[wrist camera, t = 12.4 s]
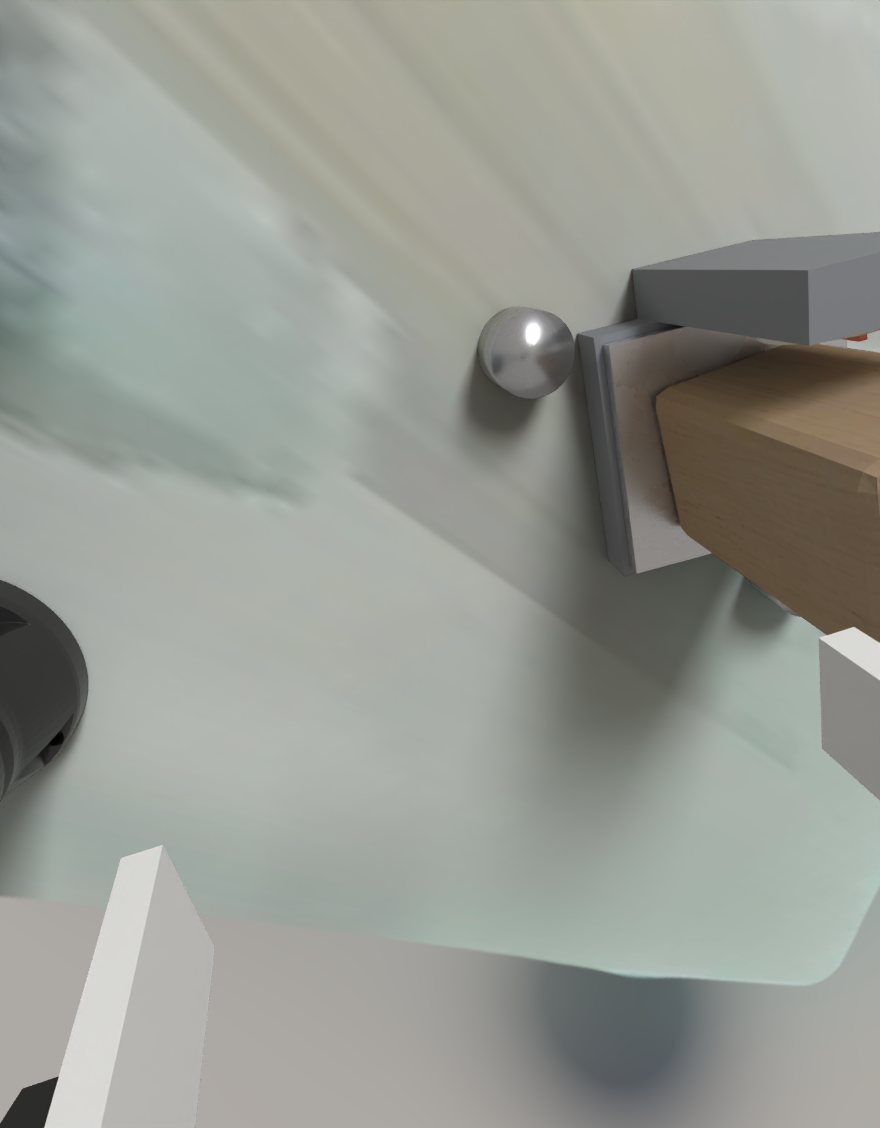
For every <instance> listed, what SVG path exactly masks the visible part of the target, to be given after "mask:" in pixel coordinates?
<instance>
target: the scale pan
mask: <svg viewBox="0 0 880 1128" xmlns="http://www.w3.org/2000/svg"><path fill="white" fill-rule="evenodd" d="M819 344H824V345H831V346H838V347H844V348H847V340H844V339H839V340H833V341H827V342H823V343H819ZM778 346H781V345H775V344H765V343H761V342H759V341H757V338H756V337H750V336H743V335H737V334H731V333H724V332H718V331H711V330H705V329H699V328H692V327H686V326H675V327H671V328H667V329H663V330H659V331H655V332H651V333H647V334H643V335H639V336H635V337H630V338H626V339H622V340H618V341H614V342H610V343H606V344H603V348H604V356H605V364H606V372H607V380H608V388H609V396H610V404H611V412H612V420H613V428H614V436H615V444H616V452H617V460H618V468H619V476H620V485H621V493H622V501H623V509H624V517H625V525H626V533H627V541H628V549H629V557H630V565H631V569H632V570H633V571H634V572H636V573H641V572H645V571H649V570H652V569H656V568H660V567H663V566H667V565H671V564H675V563H678V562H682V561H686V560H689V559H693V558H697V557H701V556H704V555H708V554H712V553H711V552H710V551H708V550H707V549H706V548H704V547H703V546H701V545H700V544H699V543H697V542H696V541H694V540H693V539H692V538H690V537H689V536H687V534H686V533H685V532H684V531H683V529H682V528H681V525H680V520H679V516H678V511H677V506H676V501H675V497H674V492H673V487H672V483H671V478H670V473H669V468H668V464H667V459H666V454H665V449H664V445H663V440H662V435H661V430H660V426H659V421H658V416H657V412H656V396H657V395H658V394H660V393H661V392H662V391H664V390H665V389H667V388H668V387H670V386H673V385H676V384H678V383H681V382H684V381H687V380H689V379H692V378H695V377H697V376H700V375H703V374H705V373H708V372H711V371H713V370H716V369H719V368H722V367H724V366H727V365H730V364H732V363H735V362H738V361H740V360H743V359H746V358H749V357H751V356H754V355H757V354H759V353H762V352H765V351H767V350H770V349H773V348H776V347H778Z"/></svg>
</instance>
